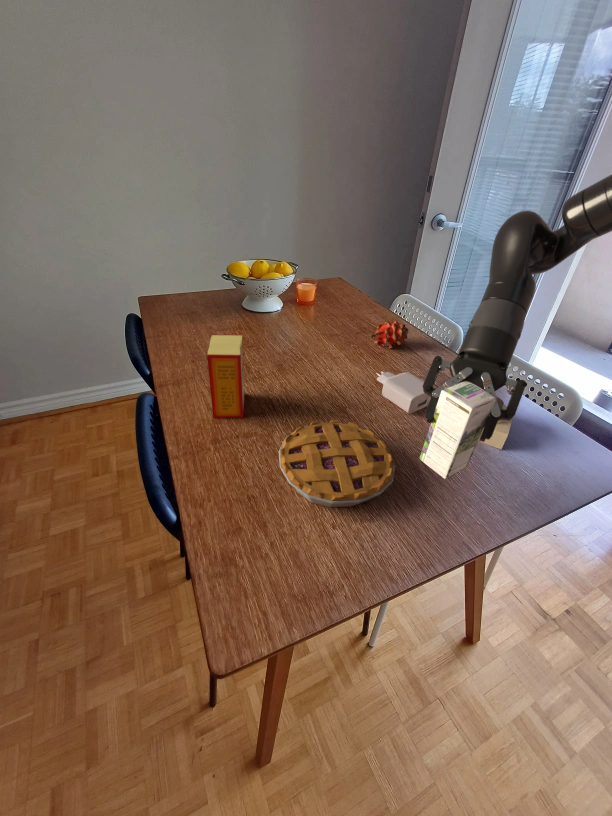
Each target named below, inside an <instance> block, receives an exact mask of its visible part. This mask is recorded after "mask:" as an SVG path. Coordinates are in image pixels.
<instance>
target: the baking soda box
mask: <svg viewBox="0 0 612 816" xmlns="http://www.w3.org/2000/svg"><path fill="white" fill-rule="evenodd" d="M243 342H244V341H243V334H211V337H210V341H209V345H208V350H207V354H206V359H207V369H208V378H209V379H208V381H209V388H210V399H211V408H212V409H211V410H212V418H213V419H243V418H244V407H245V371H244V370H245V369H244V368H245V367H244V344H243Z"/></svg>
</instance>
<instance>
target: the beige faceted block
mask: <svg viewBox="0 0 612 816" xmlns="http://www.w3.org/2000/svg"><path fill="white" fill-rule="evenodd" d="M506 409H507V406H506V405H505V404H504V405H503V408H502V410H506ZM489 416H490V415H489ZM513 419H514V417H513V418H512V419H511V420H509V421H507V420H499V421H498V422H497V425H496V427H495V430H494V432H493V435H492V437H491V438H490V439H489V440H488V439H485V441H484V442H482V441H479V440H480V438H479V440H478V443H481V444H484V445H487V446H490V447H492V448H496V449H498V450H502V449H503V448H504V445H505V444H506V441H507V438H508V436H509V433H510V430H511V426H512V422H513ZM482 432H483V431H482ZM480 437H481V436H480Z"/></svg>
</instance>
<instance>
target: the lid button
mask: <svg viewBox="0 0 612 816" xmlns="http://www.w3.org/2000/svg"><path fill="white" fill-rule="evenodd" d="M496 397H497V402H498V406H499V409H500V410H502V408H503V405H505V402H504V400H503V399H502V398H500V397H498V396H496Z"/></svg>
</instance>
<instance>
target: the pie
mask: <svg viewBox="0 0 612 816" xmlns="http://www.w3.org/2000/svg"><path fill="white" fill-rule="evenodd" d="M278 458H279V460H278V461H279V469H280V470H281V472H282V473H283V475H284V477H285V478H286V480H287V482H288V484H289V485H290V486H292V487H293V488H294V489H295V491H296V492H297V493H298V494H300V495H301V496H302V497H303V498H305V499H306V500H307V501H309V502H310V503H311V504H315V505H319V506H324V507H328V508H343V507H345V508H347V507H354V506H357V505H359V504H362V503H364V502H367V501H371V500H372V499H374V498H375V497H377V496H380V495H381V494H382V493H383V492H384V491H385V490H387V488H388V487H389V486H390V485H392V484H393V483H394V477H395V471H396V470H395V468H396V465H395V462H394V459H393V454H391V453H390V450H389V448H388V445H387V444H386V443H385V442H384V440H380V439H379V438H378V437H377V436H376V434H375V432H373V431H372V430H371V429H369V428H368V429H364V428H362V427H360V426H359V425H358V423H356V422H353V421H349V422H347V423H343V422H341V421H340V420H339V419H330V421H329V422H322V421H319V420H318V421H317V420H316V421H312V422H311V423H310V424H309V425H306V426H302V425H300V426H298V427H297V428H296V429H295V430H294V431H293V432H291V433H290V434H287V436H286V437H285V438H284V440H283V442H282V444H281V446H280V448H279V449H278Z"/></svg>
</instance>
